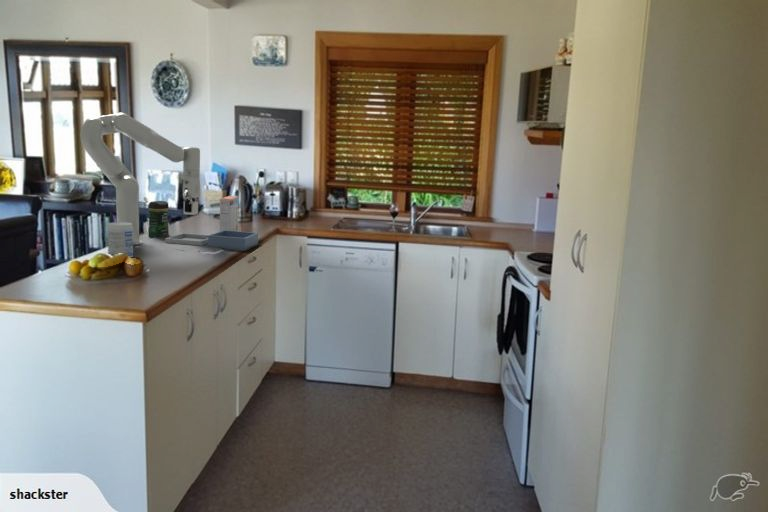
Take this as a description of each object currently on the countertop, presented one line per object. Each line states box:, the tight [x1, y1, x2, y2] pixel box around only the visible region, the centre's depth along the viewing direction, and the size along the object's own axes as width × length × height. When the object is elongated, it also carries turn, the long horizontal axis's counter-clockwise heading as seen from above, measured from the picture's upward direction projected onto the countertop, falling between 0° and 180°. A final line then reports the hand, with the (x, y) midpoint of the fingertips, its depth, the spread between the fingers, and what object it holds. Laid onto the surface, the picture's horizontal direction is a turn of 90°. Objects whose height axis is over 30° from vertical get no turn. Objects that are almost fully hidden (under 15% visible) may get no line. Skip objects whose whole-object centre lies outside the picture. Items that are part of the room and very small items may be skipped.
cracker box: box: [219, 195, 239, 231], centre depth 317 cm, size 14×6×21 cm, turn 177°
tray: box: [164, 232, 209, 247], centre depth 295 cm, size 18×18×3 cm
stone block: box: [183, 201, 199, 216], centre depth 292 cm, size 5×5×6 cm
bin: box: [207, 230, 259, 252], centre depth 293 cm, size 18×18×6 cm
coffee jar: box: [147, 200, 170, 239], centre depth 303 cm, size 10×8×19 cm
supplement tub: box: [107, 221, 134, 257], centre depth 251 cm, size 10×10×15 cm
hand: (190, 211), depth 292 cm, fingers closed on stone block, 5 cm apart
